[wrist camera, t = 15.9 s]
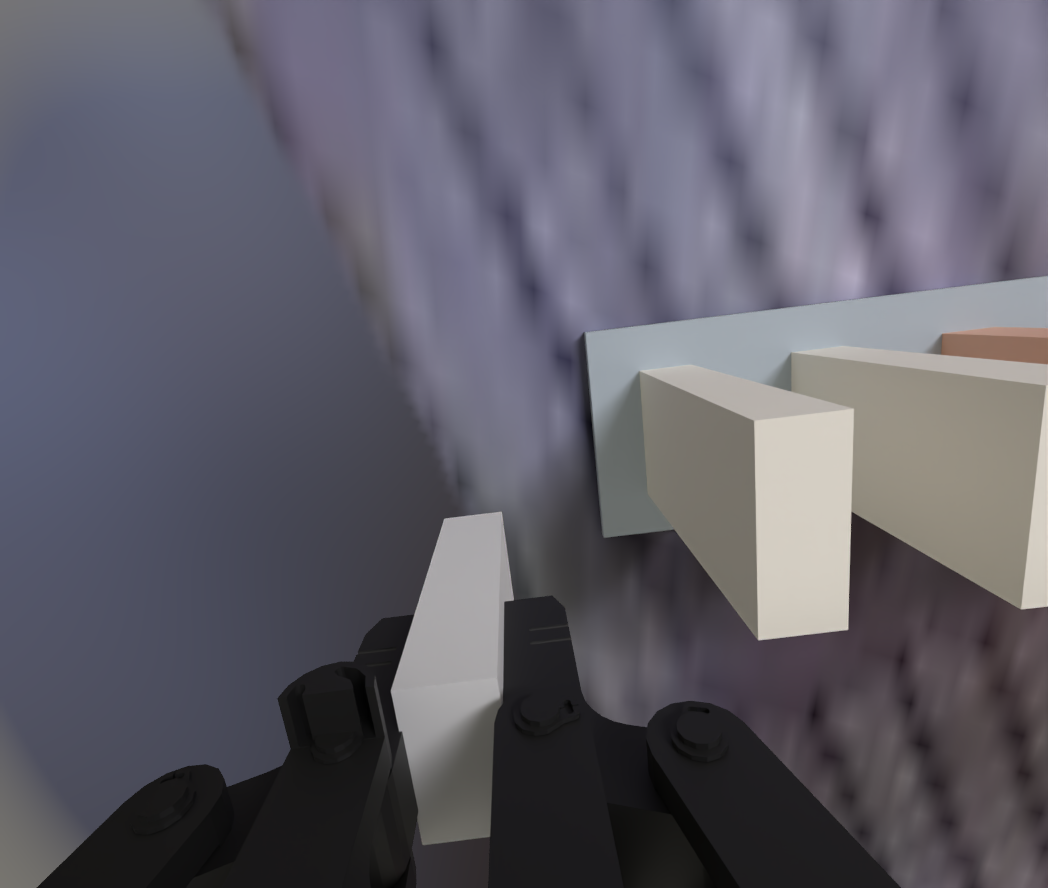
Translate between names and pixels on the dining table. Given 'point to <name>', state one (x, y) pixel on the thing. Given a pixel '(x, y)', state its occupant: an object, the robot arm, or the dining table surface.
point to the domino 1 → (947, 457)
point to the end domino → (755, 493)
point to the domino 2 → (999, 344)
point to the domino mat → (766, 363)
